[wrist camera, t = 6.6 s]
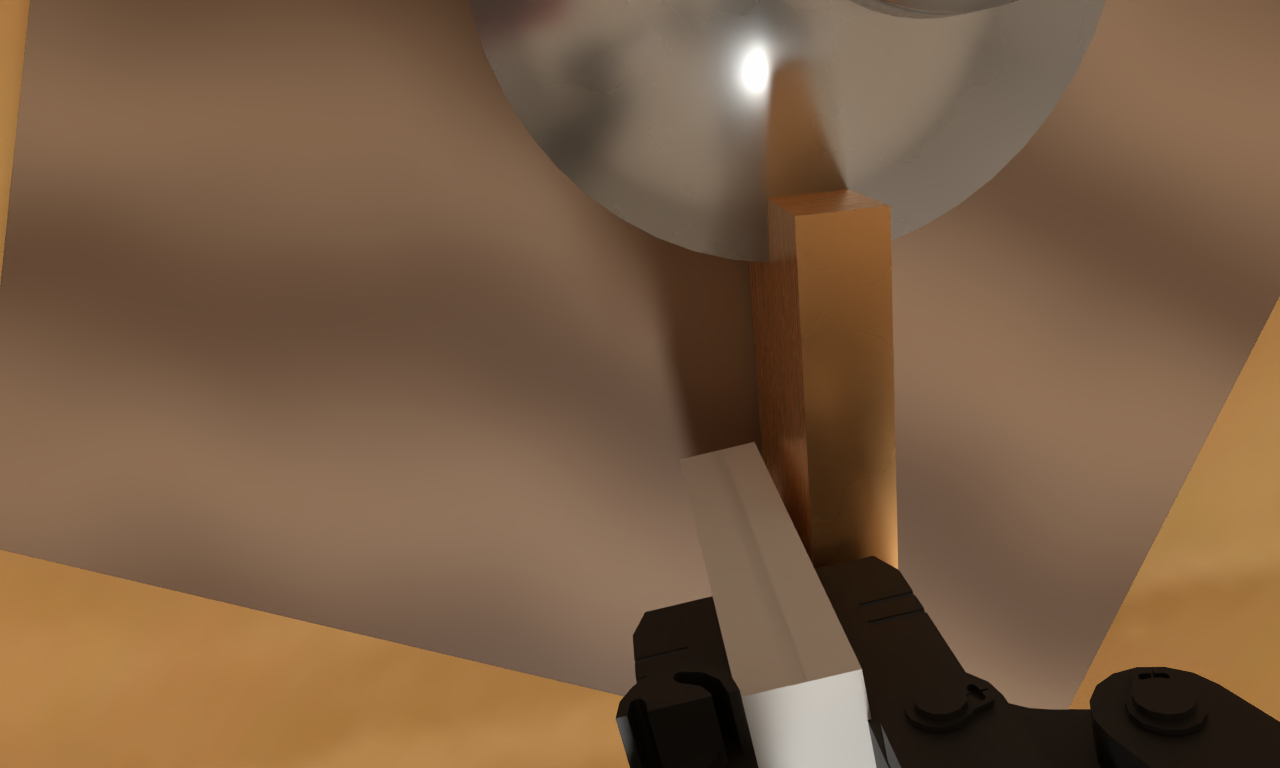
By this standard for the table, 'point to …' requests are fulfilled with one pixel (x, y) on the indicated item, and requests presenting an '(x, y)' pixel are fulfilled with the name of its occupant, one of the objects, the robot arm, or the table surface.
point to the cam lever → (794, 179)
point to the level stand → (584, 337)
